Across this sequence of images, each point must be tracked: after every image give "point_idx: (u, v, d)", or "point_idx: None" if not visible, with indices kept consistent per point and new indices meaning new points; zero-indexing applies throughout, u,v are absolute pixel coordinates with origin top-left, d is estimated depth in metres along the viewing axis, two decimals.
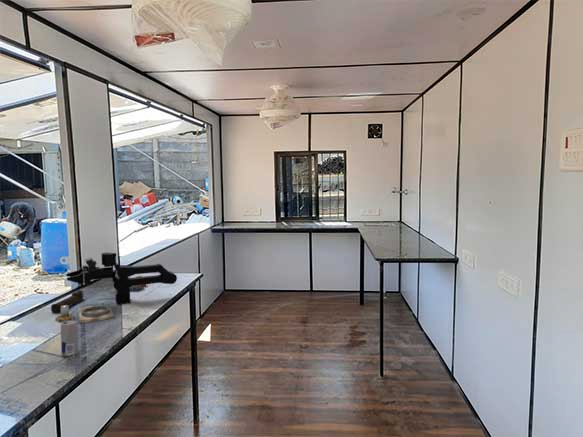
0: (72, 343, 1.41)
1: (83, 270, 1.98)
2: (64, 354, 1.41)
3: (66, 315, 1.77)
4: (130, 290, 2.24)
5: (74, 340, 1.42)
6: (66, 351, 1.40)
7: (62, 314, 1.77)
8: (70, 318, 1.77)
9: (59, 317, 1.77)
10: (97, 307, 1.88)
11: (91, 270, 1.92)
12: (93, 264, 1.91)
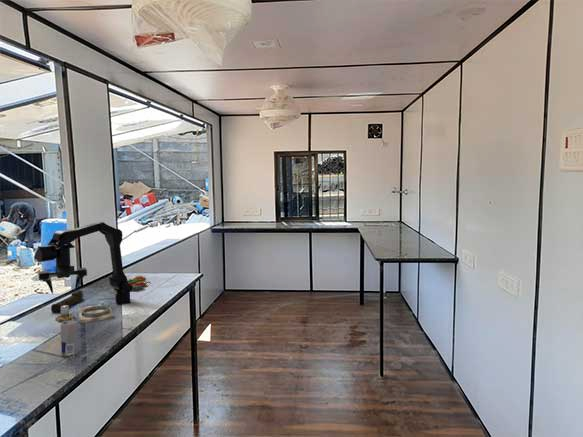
0: (72, 343, 1.41)
1: (49, 277, 1.73)
2: (64, 354, 1.41)
3: (66, 315, 1.77)
4: None
5: (74, 340, 1.42)
6: (66, 351, 1.40)
7: (62, 314, 1.77)
8: (70, 318, 1.77)
9: (59, 317, 1.77)
10: (97, 307, 1.88)
11: None
12: None
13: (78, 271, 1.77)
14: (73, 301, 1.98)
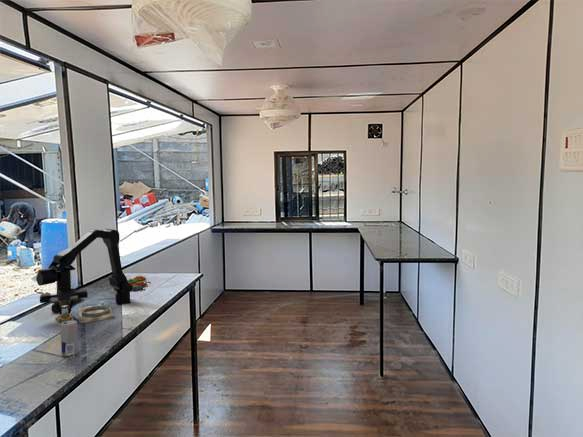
0: (72, 343, 1.41)
1: (57, 299, 1.75)
2: (64, 354, 1.41)
3: (66, 315, 1.77)
4: None
5: (74, 340, 1.42)
6: (66, 351, 1.40)
7: (62, 314, 1.77)
8: (70, 318, 1.77)
9: (59, 317, 1.77)
10: (97, 307, 1.88)
11: None
12: None
13: (79, 293, 1.78)
14: None
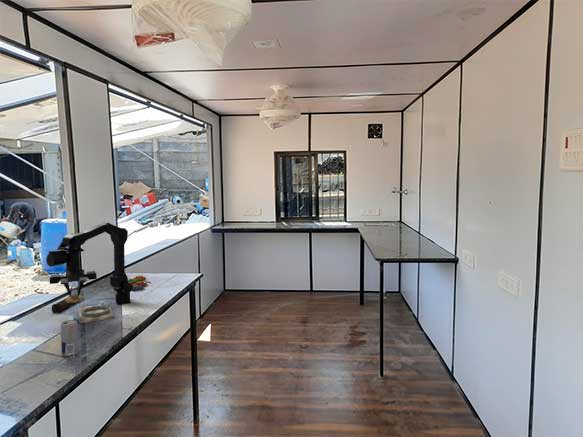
0: (72, 343, 1.41)
1: (67, 280, 1.76)
2: (64, 354, 1.41)
3: (75, 296, 1.78)
4: None
5: (74, 340, 1.42)
6: (66, 351, 1.40)
7: (71, 295, 1.78)
8: (79, 299, 1.78)
9: (69, 298, 1.78)
10: (97, 307, 1.88)
11: None
12: None
13: (88, 274, 1.79)
14: None
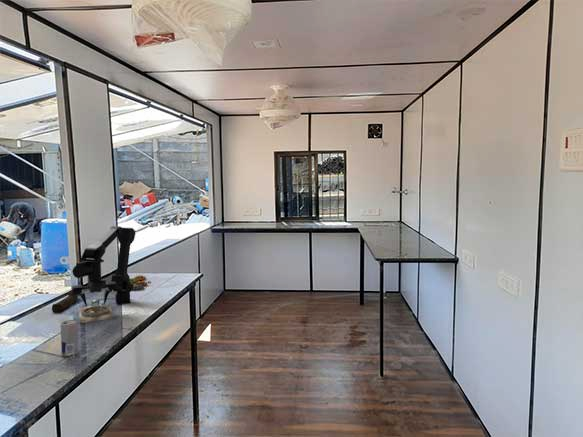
0: (72, 343, 1.41)
1: (83, 291, 1.79)
2: (64, 354, 1.41)
3: (97, 309, 1.83)
4: None
5: (74, 340, 1.42)
6: (66, 351, 1.40)
7: (93, 308, 1.82)
8: None
9: (90, 311, 1.82)
10: None
11: None
12: (105, 283, 1.80)
13: (109, 285, 1.83)
14: (71, 301, 1.98)
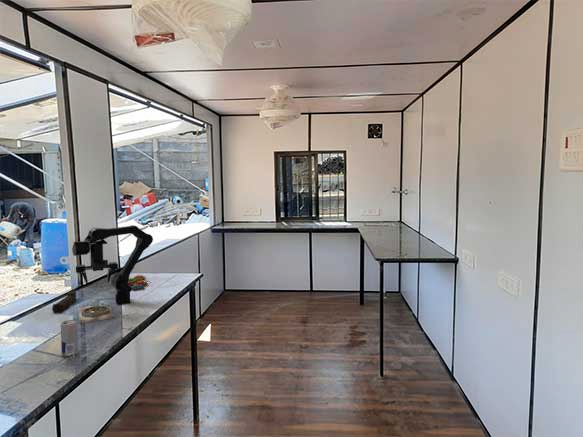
0: (72, 343, 1.41)
1: None
2: (64, 354, 1.41)
3: (97, 309, 1.83)
4: (131, 289, 2.26)
5: (74, 340, 1.42)
6: (66, 351, 1.40)
7: (93, 308, 1.82)
8: None
9: (90, 311, 1.82)
10: None
11: None
12: (107, 262, 1.90)
13: (110, 265, 1.94)
14: (70, 301, 1.98)
